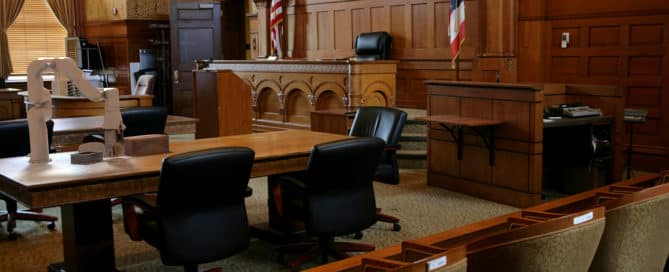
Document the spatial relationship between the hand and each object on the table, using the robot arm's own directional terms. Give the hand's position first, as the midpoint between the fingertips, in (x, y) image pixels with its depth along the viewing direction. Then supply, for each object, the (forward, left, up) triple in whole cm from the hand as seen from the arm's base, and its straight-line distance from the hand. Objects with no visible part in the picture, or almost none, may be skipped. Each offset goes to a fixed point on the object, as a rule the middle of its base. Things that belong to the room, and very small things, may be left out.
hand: (114, 139), depth 406 cm
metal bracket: (-12, -10, -12) cm, 19 cm away
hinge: (-21, +7, -12) cm, 26 cm away
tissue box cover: (-2, +32, -12) cm, 34 cm away
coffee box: (0, 0, -10) cm, 10 cm away
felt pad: (0, 0, -12) cm, 12 cm away
